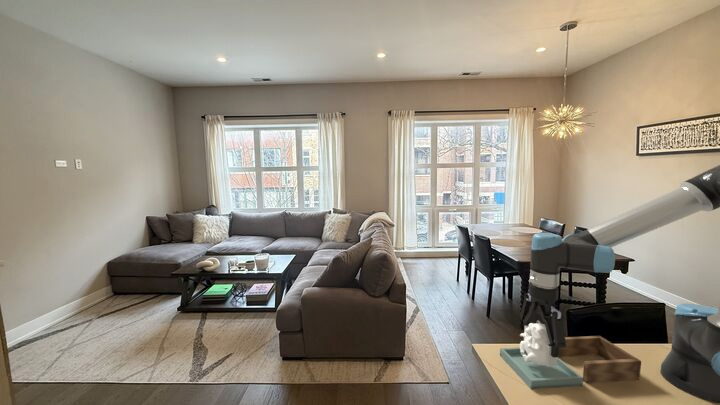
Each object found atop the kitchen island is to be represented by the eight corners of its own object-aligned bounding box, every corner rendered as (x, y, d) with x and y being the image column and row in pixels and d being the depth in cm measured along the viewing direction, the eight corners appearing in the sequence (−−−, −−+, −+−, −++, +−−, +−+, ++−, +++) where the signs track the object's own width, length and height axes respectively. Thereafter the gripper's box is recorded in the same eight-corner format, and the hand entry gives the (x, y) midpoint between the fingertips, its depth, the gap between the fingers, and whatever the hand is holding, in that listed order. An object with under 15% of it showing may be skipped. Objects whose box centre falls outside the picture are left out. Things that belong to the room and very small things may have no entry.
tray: (543, 353, 99) (544, 346, 99) (582, 385, 84) (582, 377, 84) (499, 355, 98) (500, 348, 98) (530, 389, 82) (531, 380, 82)
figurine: (549, 354, 94) (552, 318, 93) (564, 374, 85) (567, 334, 84) (516, 350, 96) (518, 315, 95) (526, 369, 87) (529, 330, 86)
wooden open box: (598, 352, 100) (599, 335, 99) (639, 380, 86) (641, 361, 86) (551, 354, 98) (552, 337, 98) (586, 383, 85) (587, 363, 84)
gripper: (509, 272, 99) (506, 335, 101) (560, 300, 77) (554, 380, 79) (530, 272, 100) (527, 334, 102) (586, 299, 78) (580, 378, 80)
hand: (539, 354), depth 90 cm, fingers closed on figurine, 10 cm apart
